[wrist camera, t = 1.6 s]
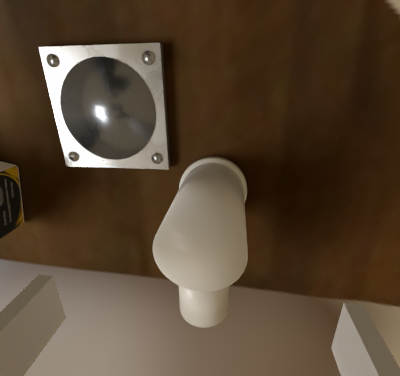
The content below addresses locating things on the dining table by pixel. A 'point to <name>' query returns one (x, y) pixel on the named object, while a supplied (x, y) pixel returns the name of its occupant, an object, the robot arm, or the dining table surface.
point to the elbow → (205, 238)
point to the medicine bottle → (10, 198)
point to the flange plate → (109, 104)
